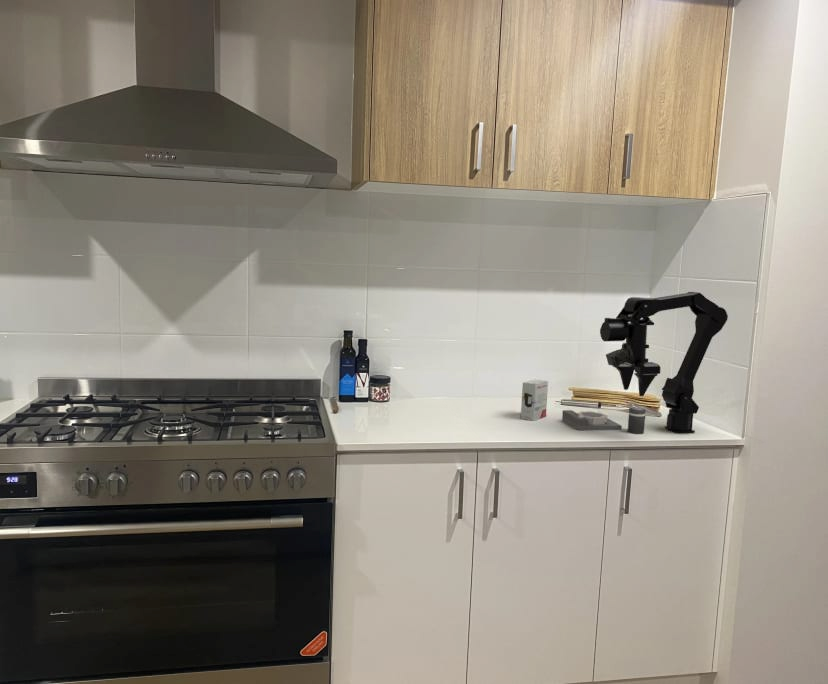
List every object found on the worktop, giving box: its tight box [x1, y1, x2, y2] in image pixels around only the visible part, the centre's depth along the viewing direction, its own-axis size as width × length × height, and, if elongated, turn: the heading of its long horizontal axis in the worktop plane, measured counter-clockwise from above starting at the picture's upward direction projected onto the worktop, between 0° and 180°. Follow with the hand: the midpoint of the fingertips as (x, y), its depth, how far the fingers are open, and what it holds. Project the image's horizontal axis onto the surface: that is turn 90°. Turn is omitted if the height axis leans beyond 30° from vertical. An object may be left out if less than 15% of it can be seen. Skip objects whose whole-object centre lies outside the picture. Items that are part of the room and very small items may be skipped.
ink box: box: [520, 378, 549, 422], centre depth 213 cm, size 9×5×12 cm, turn 141°
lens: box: [627, 406, 647, 435], centre depth 199 cm, size 5×5×7 cm
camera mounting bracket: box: [561, 409, 623, 431], centre depth 206 cm, size 14×12×4 cm
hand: (633, 392), depth 198 cm, fingers open, 9 cm apart
